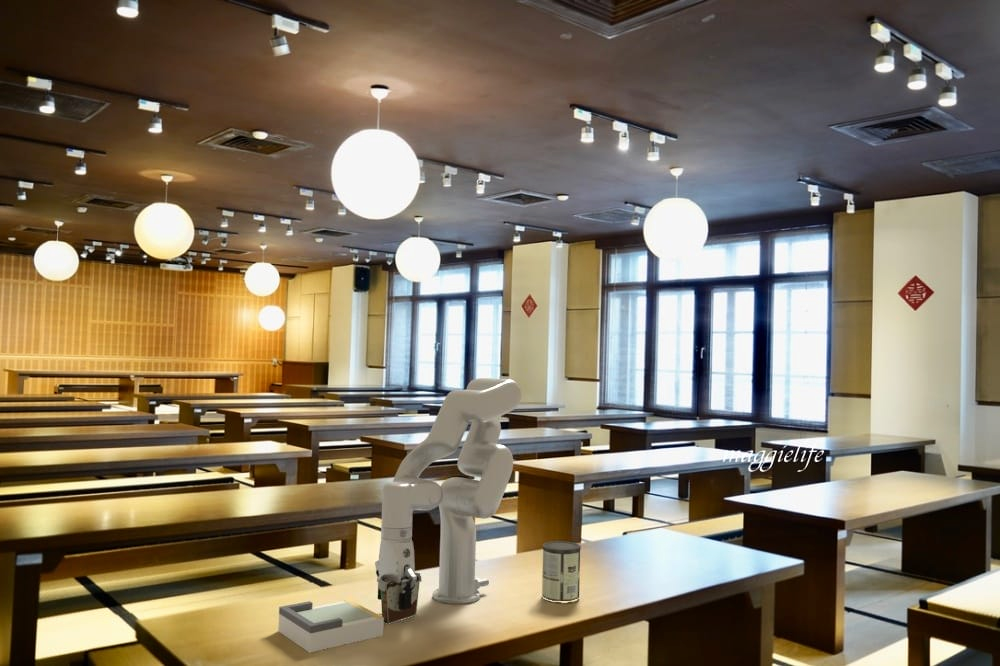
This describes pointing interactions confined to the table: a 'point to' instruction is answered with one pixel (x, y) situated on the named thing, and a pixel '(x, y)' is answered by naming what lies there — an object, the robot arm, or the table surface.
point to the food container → (396, 600)
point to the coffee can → (561, 571)
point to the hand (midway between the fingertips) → (394, 603)
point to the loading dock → (328, 624)
